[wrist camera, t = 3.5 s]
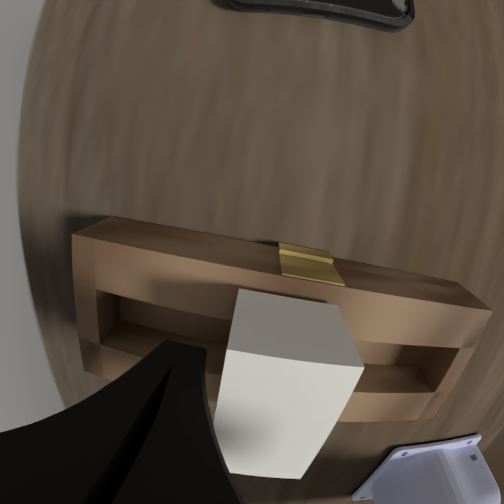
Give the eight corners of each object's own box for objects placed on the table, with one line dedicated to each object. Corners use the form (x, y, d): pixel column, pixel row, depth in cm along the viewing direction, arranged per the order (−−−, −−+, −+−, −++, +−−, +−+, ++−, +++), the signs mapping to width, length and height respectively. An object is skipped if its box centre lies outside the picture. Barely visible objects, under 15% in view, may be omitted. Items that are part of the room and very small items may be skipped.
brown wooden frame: (459, 279, 12) (494, 306, 9) (410, 384, 14) (429, 421, 11) (111, 211, 12) (71, 228, 9) (111, 338, 13) (84, 373, 11)
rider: (326, 279, 11) (364, 367, 6) (292, 383, 12) (300, 478, 7) (243, 264, 11) (226, 349, 6) (223, 372, 12) (205, 468, 7)
